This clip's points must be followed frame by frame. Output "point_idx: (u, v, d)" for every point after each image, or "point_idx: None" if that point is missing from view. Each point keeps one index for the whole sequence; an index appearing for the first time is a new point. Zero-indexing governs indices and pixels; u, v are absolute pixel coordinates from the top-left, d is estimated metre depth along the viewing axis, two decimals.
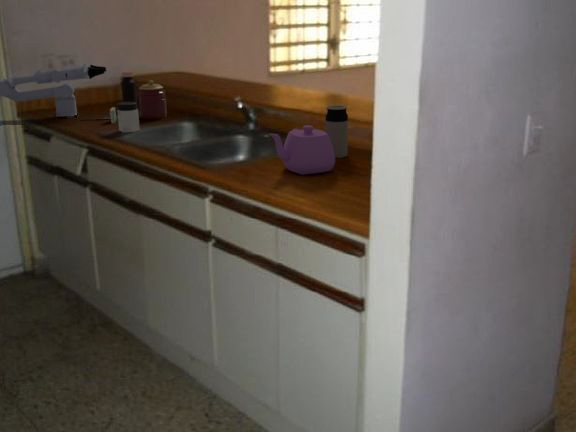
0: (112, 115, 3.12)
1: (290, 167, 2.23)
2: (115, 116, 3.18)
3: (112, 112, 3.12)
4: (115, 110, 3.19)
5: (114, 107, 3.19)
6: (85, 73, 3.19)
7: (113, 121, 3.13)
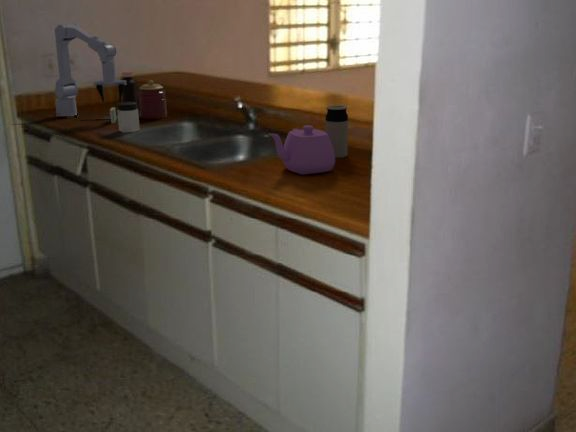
0: (112, 115, 3.12)
1: (290, 167, 2.23)
2: (115, 116, 3.18)
3: (112, 112, 3.12)
4: (115, 110, 3.19)
5: (114, 107, 3.19)
6: None
7: (113, 121, 3.13)
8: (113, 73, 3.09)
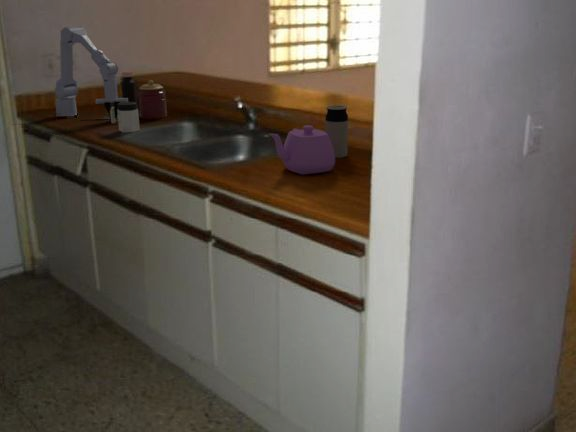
0: (112, 115, 3.12)
1: (290, 167, 2.23)
2: None
3: (112, 112, 3.12)
4: None
5: None
6: None
7: (113, 121, 3.13)
8: (115, 91, 3.11)
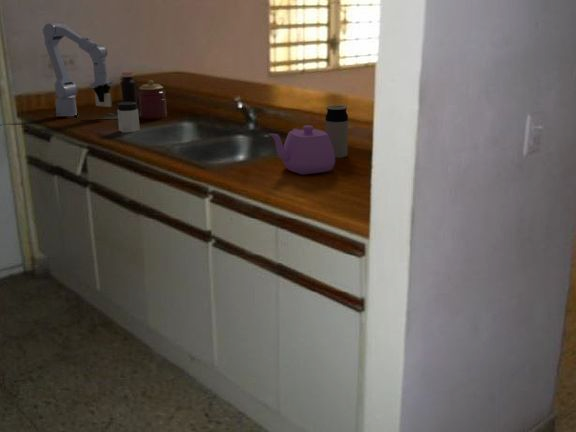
0: (110, 98, 3.20)
1: (290, 167, 2.23)
2: None
3: (110, 95, 3.19)
4: None
5: None
6: (91, 86, 3.13)
7: (110, 104, 3.21)
8: None
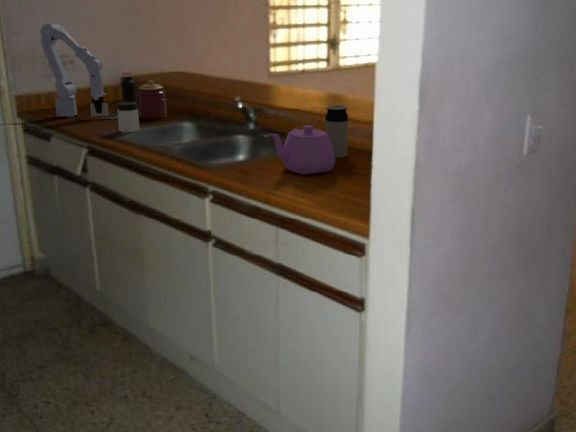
0: (107, 108, 3.28)
1: (290, 167, 2.23)
2: None
3: (107, 105, 3.28)
4: None
5: None
6: (96, 98, 3.19)
7: (108, 113, 3.29)
8: None
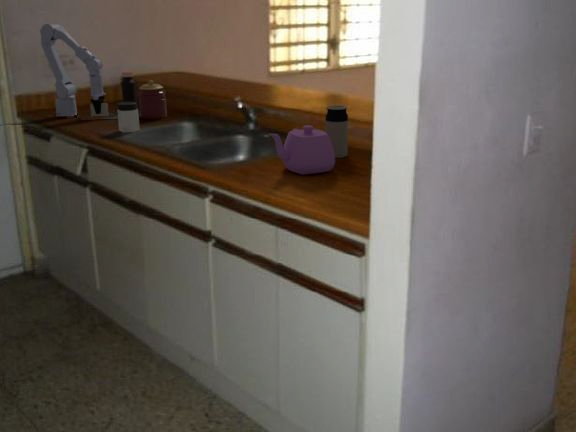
0: (107, 108, 3.28)
1: (290, 167, 2.23)
2: None
3: (107, 105, 3.28)
4: None
5: None
6: (96, 97, 3.19)
7: (108, 113, 3.29)
8: None
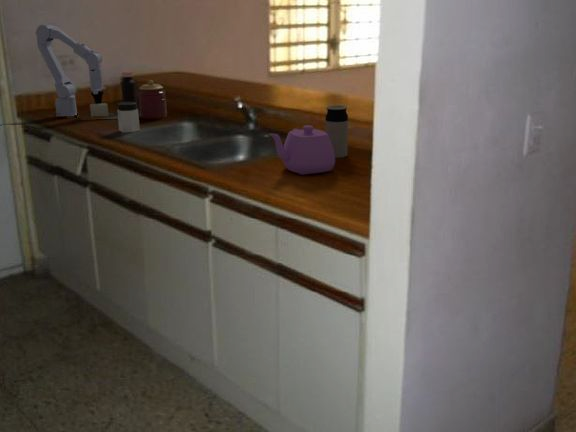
0: (107, 108, 3.28)
1: (290, 167, 2.23)
2: None
3: None
4: None
5: (90, 104, 3.26)
6: (95, 92, 3.19)
7: None
8: None
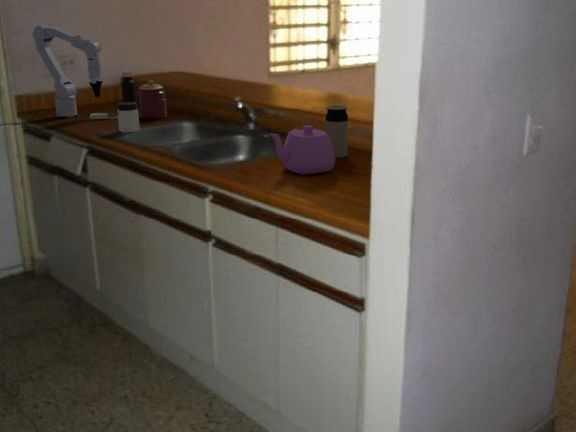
0: (107, 115, 3.25)
1: (290, 167, 2.23)
2: (96, 114, 3.25)
3: (107, 115, 3.23)
4: (90, 115, 3.23)
5: (89, 116, 3.22)
6: (94, 81, 3.15)
7: (107, 114, 3.27)
8: None
